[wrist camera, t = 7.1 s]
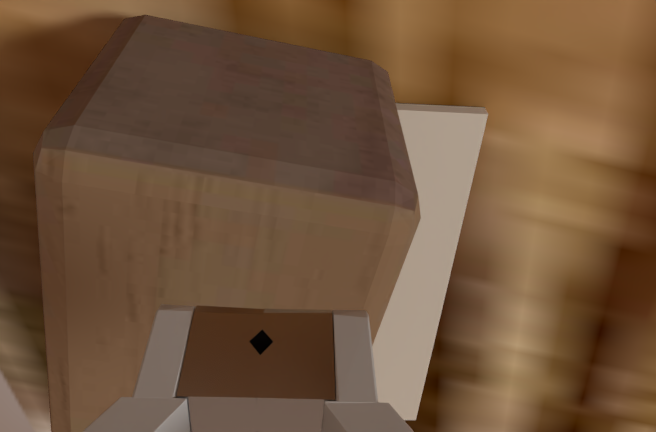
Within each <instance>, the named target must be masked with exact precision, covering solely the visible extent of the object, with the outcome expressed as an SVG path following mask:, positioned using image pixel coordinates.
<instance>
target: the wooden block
mask: <svg viewBox="0 0 656 432" xmlns="http://www.w3.org/2000/svg"><path fill="white" fill-rule="evenodd" d="M33 162H34V177H35V192H36V207H37V222H38V237H39V252H40V267H41V282H42V297H43V313H44V328H45V343H46V358H47V373H48V388H49V403H50V418H51V432H82V431H84V430H85V429H86V428H87V427H88V426H89V425H90V424H91V423H92V422H94V421H95V420H96V419H97V418H98V417H99V416H100V415H101V414H102V413H104V412H105V411H106V410H107V409H108V408H109V407H110V406H111V405H112V404H114V403H115V402H116V401H117V400H118V399H119V398H120V397H132V395H133V391H134V388H135V384H136V381H137V377H138V374H139V370H140V367H141V363H142V359H143V356H144V352H145V349H146V345H147V342H148V338H149V335H150V331H151V328H152V324H153V321H154V317H155V313H156V311H157V310H158V308H159V307H160V305H161V304H168V305H185V306H197V305H199V306H218V307H236V308H255V309H315V310H331V311H332V310H366V312H367V313H368V315H369V322H370V331H371V340H372V346H373V343H374V340H375V338H376V335H377V332H378V330H379V327H380V325H381V322H382V319H383V317H384V314H385V311H386V309H387V306H388V303H389V301H390V298H391V296H392V293H393V290H394V288H395V285H396V282H397V280H398V277H399V275H400V272H401V269H402V267H403V264H404V261H405V259H406V256H407V253H408V251H409V248H410V246H411V243H412V240H413V238H414V235H415V232H416V230H417V227H418V225H419V222H420V219H421V215H420V206H419V197H418V192H417V188H416V184H415V180H414V176H413V172H412V168H411V164H410V160H409V156H408V152H407V148H406V143H405V139H404V135H403V131H402V127H401V123H400V119H399V115H398V111H397V107H396V103H395V99H394V95H393V91H392V87H391V83H390V79H389V75H388V72H387V71H386V70H384V69H383V68H381V67H380V66H378V65H377V64H375V63H374V62H372V61H370V60H365V59H360V58H355V57H350V56H345V55H340V54H335V53H331V52H326V51H321V50H316V49H311V48H306V47H301V46H296V45H291V44H286V43H281V42H276V41H272V40H267V39H262V38H257V37H252V36H247V35H242V34H237V33H232V32H227V31H222V30H217V29H212V28H208V27H203V26H198V25H193V24H188V23H183V22H178V21H173V20H168V19H163V18H158V17H153V16H149V15H143V16H137V17H132V18H127V19H124V20H123V22H122V23H121V24H120V26H119V27H118V28H117V30H116V31H115V33H114V34H113V35H112V37H111V38H110V40H109V41H108V42H107V44H106V45H105V47H104V48H103V49H102V51H101V52H100V53H99V55H98V56H97V58H96V59H95V60H94V62H93V63H92V65H91V66H90V67H89V69H88V70H87V72H86V73H85V74H84V76H83V77H82V78H81V80H80V81H79V83H78V84H77V85H76V87H75V88H74V90H73V91H72V92H71V94H70V95H69V96H68V98H67V99H66V101H65V102H64V103H63V105H62V106H61V108H60V109H59V110H58V112H57V113H56V115H55V116H54V117H53V119H52V120H51V121H50V123H49V124H48V126H47V127H46V128H45V130H44V132H43V134H42V136H41V138H40V140H39V142H38V144H37V146H36V148H35V150H34V152H33Z"/></svg>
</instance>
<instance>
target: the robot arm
mask: <svg viewBox="0 0 656 432" xmlns="http://www.w3.org/2000/svg"><path fill="white" fill-rule="evenodd" d="M82 432H414V431H413V430H412V429H411V428H410V427H409V426H408V425H407V423H406V422H405V421H404V420H403V419H402V418H401V416H400V415H399V414H398V413H397V412H396V411H395V409H394V408H393V407H392V406H391V405H390V404H389V403H383V402H378V396H377V387H376V377H375V368H374V359H373V350H372V340H371V331H370V322H369V315H368V313H367V312H366V310H332V311H331V310H315V309H255V308H236V307H218V306H199V305H197V306H185V305H168V304H161V305H160V307H159V308H158V310H157V311H156V313H155V317H154V321H153V324H152V328H151V331H150V335H149V338H148V342H147V345H146V349H145V352H144V356H143V359H142V363H141V367H140V370H139V374H138V377H137V381H136V384H135V388H134V391H133V395H132V397H120V398H119V399H118V400H117V401H116V402H115V403H114V404H112V405H111V406H110V407H109V408H108V409H107V410H106V411H105V412H104V413H102V414H101V415H100V416H99V417H98V418H97V419H96V420H95V421H94V422H92V423H91V424H90V425H89V426H88V427H87V428H86V429H85V430H84V431H82Z"/></svg>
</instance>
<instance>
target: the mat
mask: <svg viewBox="0 0 656 432" xmlns="http://www.w3.org/2000/svg"><path fill="white" fill-rule="evenodd" d="M396 107H397V111H398V115H399V119H400V123H401V127H402V131H403V135H404V139H405V143H406V148H407V152H408V156H409V160H410V164H411V168H412V172H413V176H414V180H415V184H416V188H417V192H418V197H419V206H420V215H421V219H420V222H419V225H418V227H417V230H416V232H415V235H414V238H413V240H412V243H411V246H410V248H409V251H408V253H407V256H406V259H405V261H404V264H403V267H402V269H401V272H400V275H399V277H398V280H397V282H396V285H395V288H394V290H393V293H392V296H391V298H390V301H389V303H388V306H387V309H386V311H385V314H384V317H383V319H382V322H381V325H380V327H379V330H378V332H377V335H376V338H375V340H374V343H373V346H372V350H373V359H374V368H375V377H376V387H377V396H378V402H383V403H389V404H390V405H391V406H392V407H393V408H394V409H395V411H396V412H397V413H398V414H399V415H400V416H401V418H402V419H403V420H416V417H417V412H418V408H419V404H420V400H421V395H422V391H423V387H424V383H425V379H426V374H427V370H428V366H429V362H430V358H431V353H432V349H433V345H434V341H435V336H436V332H437V328H438V324H439V320H440V315H441V311H442V307H443V303H444V298H445V294H446V290H447V286H448V282H449V277H450V273H451V269H452V265H453V260H454V256H455V252H456V248H457V244H458V239H459V235H460V231H461V227H462V222H463V218H464V214H465V210H466V206H467V201H468V197H469V193H470V189H471V184H472V180H473V176H474V172H475V168H476V163H477V159H478V155H479V151H480V146H481V142H482V138H483V134H484V130H485V125H486V121H487V117H488V113H487V111H486V109H485V107H464V106H443V105H422V104H401V103H396Z"/></svg>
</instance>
